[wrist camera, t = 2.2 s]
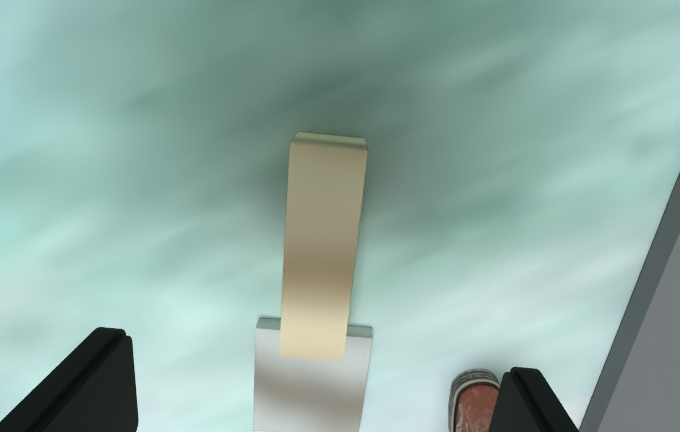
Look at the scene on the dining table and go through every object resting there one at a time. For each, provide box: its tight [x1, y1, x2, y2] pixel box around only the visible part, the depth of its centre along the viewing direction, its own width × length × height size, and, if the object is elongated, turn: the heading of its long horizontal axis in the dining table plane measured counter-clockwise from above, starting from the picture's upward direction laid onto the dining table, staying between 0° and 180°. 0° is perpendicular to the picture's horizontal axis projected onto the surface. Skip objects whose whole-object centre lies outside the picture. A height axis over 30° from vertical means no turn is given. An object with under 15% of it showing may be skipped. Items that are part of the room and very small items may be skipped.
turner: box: [253, 132, 372, 432], centre depth 20 cm, size 17×6×3 cm, turn 175°
